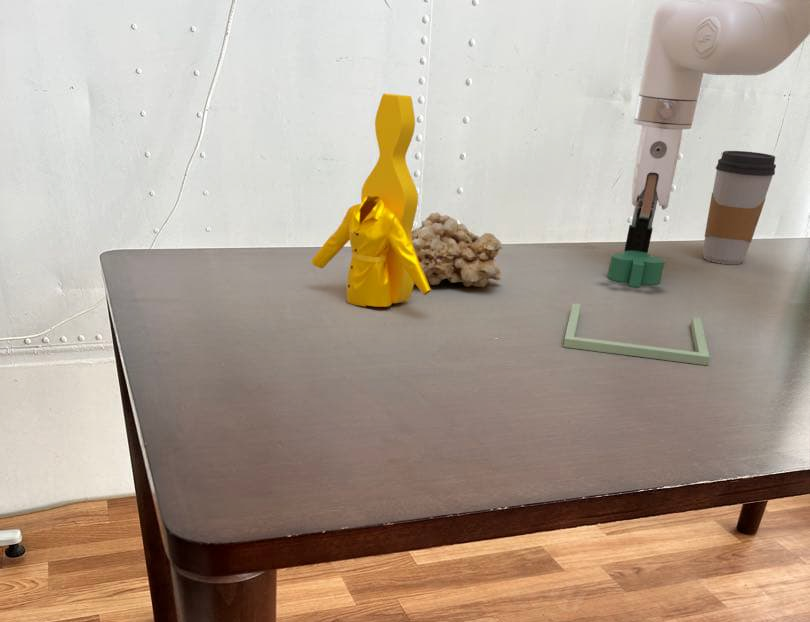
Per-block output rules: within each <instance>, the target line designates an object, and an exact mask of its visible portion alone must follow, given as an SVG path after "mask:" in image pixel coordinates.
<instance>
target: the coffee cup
mask: <svg viewBox="0 0 810 622" xmlns="http://www.w3.org/2000/svg"><path fill="white" fill-rule="evenodd" d="M775 161H776V156H775V155H772V154H768V153H763V152H754V151H745V150H724V151H723V152H722V154H721V157H720V158H719V159H717V164H716V166H715V170H716V171H715V178H714V183H713V188H712V192H711V197H710V201H709V208H708V214H707V219H706V225H705V226H706V227H705V232H704V240H703V247H702V251H701V252H702V255H703V259H704V260H705V259H706V260H705V261H708V262H711V261H712V263H715V262H716V263H715V264H720V263H721V264H720V265H740V264H742V263H743V260H745V259H746V257H747V253H748V251H749V248H750V244H751V243H752V240H753V238H754V235H755V232H756V229H757V226H758V224H759V220H760V216H761V214H762V210H763V208H764V205H765V202H766V198H767V194H768V192H769V189H770V185H771V183H772V179H773V176H775V174H776V170H775V169H776V167H777V165H776V164H775Z"/></svg>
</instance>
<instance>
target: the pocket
mask: <svg viewBox="0 0 810 622" xmlns="http://www.w3.org/2000/svg"><path fill="white" fill-rule="evenodd" d="M581 308H582V304H581V303H572V305H571V309H570V314H569V318H568V323H567V326H566V331H565V335H564V338H563V339H564V340H563V345H562V347H563V348H567V349H574V350H583V351H591V352H599V353H606V354H615V355H621V356H630V357H637V358H646V359H652V360H660V361H661V360H662V361H668V362H669V361H670V362H677V363H685V364H693V365H699V366H708V365H709V361H710V352H709V348H708V343H707V340H706V335H705V331H704V327H703V322H702V318H700V317H694V316H692V317H691V320H690V324H689V326H690V330H691V331H690V332H691V336H692V343H693V346H694V351H691V350H683V349H674V348H667V347H660V346H659V347H658V346H652V345H651V346H650V345H643V344H635V343H627V342H619V341H611V340H602V339H597V338H596V339H595V338H588V337H579V336H576V332H577V328H578V323H579V318H580V314H581Z"/></svg>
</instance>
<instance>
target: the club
mask: <svg viewBox="0 0 810 622" xmlns="http://www.w3.org/2000/svg"><path fill="white" fill-rule="evenodd" d="M664 266H665V259H664V258H661V257H658V256H654V255H652V254H650V253H649V252H648V253H646V252H642V251H633V250H629V251H623V252H616V253H611V255H610V260H609V266H608V271H607V276H606V277H607V278H608V279H609V280H611V281H614V282H619V283H628V286H629V287H630V288H631V287H633V288H640V287H641V285H647V286H649V285H650V286H655V285H659V284H661V280H662V276H663V270H664Z"/></svg>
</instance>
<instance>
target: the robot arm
mask: <svg viewBox="0 0 810 622" xmlns="http://www.w3.org/2000/svg"><path fill="white" fill-rule="evenodd" d="M809 36H810V0H764V2H762V3H757V2H749V1H737V0H733V1H732V0H719V1H712V2H706V3H704V2H698V1H697V2H696V1H684V0H683V1H679V0H678V1H677V0H670V1H669V0H668V1H664V2H662V3H661V4H659V5H658V6H657V8H656V9H655V12H654V15H653V19H652V25H651V29H650V34H649V40H648V46H647V50H646V56H645V61H644V66H643V70H642V77H641V80H640V81H641V82H640V87H639V92H638V93H639V94H638V97H637V103H636V108H635V114H634V118H633V124H635V125H637V126H641V131H640V135H639V141H638V146H637V152H636V156H635V157H636V158H635V164H634V170H633V175H632V176H633V178H632V186H631V204H632V205H633V206H634V208H633V214H632V219H631V224H629V226H628V231H627V236H626V239H625V246H624V251H629V250H633V251H642V252H646V253H649V248H650V243H651V239H652V234H653V230H654V229H653V223H654V218H655V213H656V210H657V205H658V206H661V210H663V211H664V210H666V209H667V208H668V207H669V202H670V196H671V191H672V187H673V181H674V177H675V172H676V169H677V163H678V159H679V154H680V150H681V149H680V148H681V142H682V135H683V130H691V129H692V126H693V122H694V117H695V113H696V108H697V104H698V99H699V95H700V91H701V86H702V81H703V77H704V74H706V75H712V76H713V75H714V76H761V75H765V74H766V73H768V72H771V71H772V70H775V69H776V68H777V67H778V66H779V65H781V64H782V63H783V62H785V61H786V60H787V59H788V58H789V57H790V56H791V55H792V54H793V53H794V52H795V51H796V50H797V49H798V48H799V47H800V46H801V44H803V42H804V41H805V40H806V39H807V38H808V37H809ZM624 251H623V252H624Z"/></svg>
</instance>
